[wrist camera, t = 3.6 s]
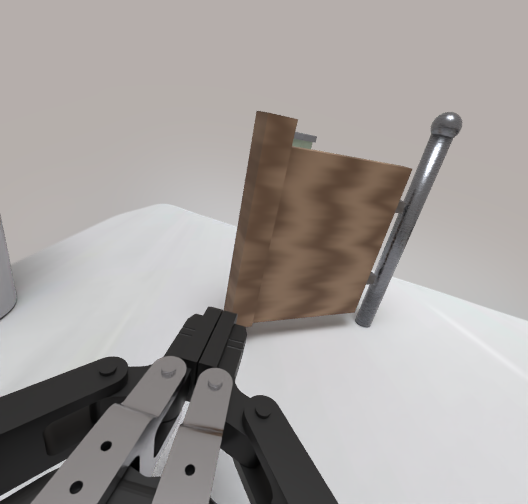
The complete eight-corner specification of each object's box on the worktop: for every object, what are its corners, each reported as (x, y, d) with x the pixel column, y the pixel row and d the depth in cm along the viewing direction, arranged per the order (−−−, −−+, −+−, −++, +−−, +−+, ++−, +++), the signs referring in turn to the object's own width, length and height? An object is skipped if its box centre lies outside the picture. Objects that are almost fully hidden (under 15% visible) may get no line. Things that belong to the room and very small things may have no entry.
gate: (348, 315, 38) (414, 146, 29) (360, 328, 36) (436, 150, 27) (220, 329, 31) (256, 110, 22) (226, 346, 29) (268, 112, 20)
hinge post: (351, 322, 37) (438, 108, 27) (355, 313, 39) (437, 111, 29) (371, 331, 36) (469, 113, 26) (373, 321, 39) (465, 116, 28)
